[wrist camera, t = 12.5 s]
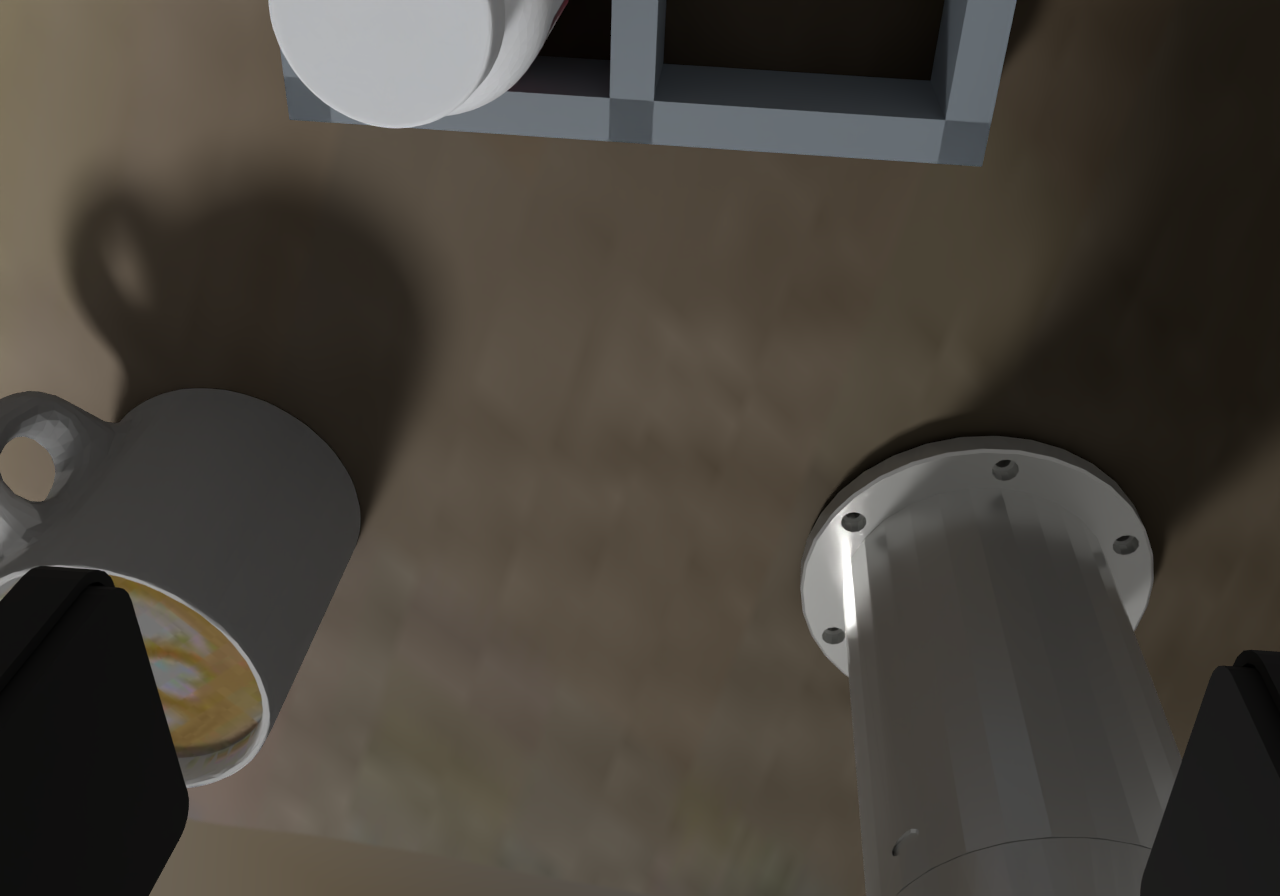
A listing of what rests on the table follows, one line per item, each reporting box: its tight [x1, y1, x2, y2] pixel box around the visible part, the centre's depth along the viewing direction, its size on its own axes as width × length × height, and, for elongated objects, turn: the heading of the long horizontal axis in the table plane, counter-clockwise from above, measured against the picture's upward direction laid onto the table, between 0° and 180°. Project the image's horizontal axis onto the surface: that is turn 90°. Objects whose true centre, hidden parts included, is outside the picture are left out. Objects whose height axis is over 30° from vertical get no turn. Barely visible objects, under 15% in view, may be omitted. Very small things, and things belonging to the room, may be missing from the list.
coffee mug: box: [0, 388, 361, 788], centre depth 40 cm, size 13×10×10 cm
